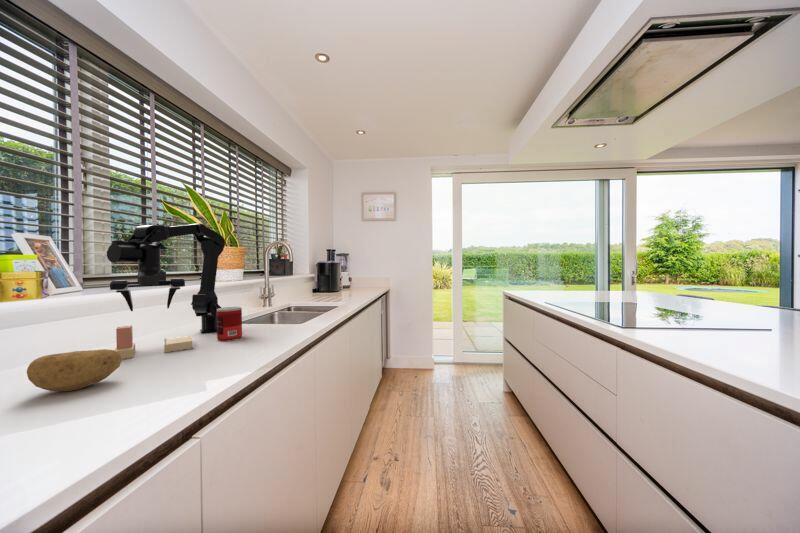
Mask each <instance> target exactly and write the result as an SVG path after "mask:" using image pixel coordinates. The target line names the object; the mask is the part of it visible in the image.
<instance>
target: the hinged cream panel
mask: <svg viewBox="0 0 800 533" xmlns="http://www.w3.org/2000/svg"><path fill="white" fill-rule="evenodd" d="M163 340H164V342H163V343H164V348H163V349H164V350H163V351H164V353H165V352H166V353H171V352H170V351H173V352H177V350H179V351H184V350H183V349H186V350H191V348H192V349H193V344H194V343H193V338H192V336H191V335H185V336H177V337H169V338H164V339H163Z"/></svg>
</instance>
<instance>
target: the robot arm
mask: <svg viewBox="0 0 800 533" xmlns="http://www.w3.org/2000/svg"><path fill="white" fill-rule="evenodd" d="M189 235H192V236H194V239H195V240H196V241H197V242H198V243H199V244H200V249H201V251H202V254H203V261H202V262H203V263H202V270H201V278H200V286H199V291H198V292H197V293H196V294H195V293H194V294H192V297H191V298H192V299H191V300H192V301H191V302H190V305H191V306H192V308H191V309H192V310H193V312H194V313H195V316H196V317H201V318H200V320H201V328H200V329H199V332H200V333H201V334H205V333H213V332H217V309H219V308H222V307H221V306H220V305H219V302H218V296H217V294H216V292H215V288H216V278H217V271H218V270H217V269H218V261H219V256H221V254H222V253H223V251H224V249H225V246H226V240H225V238H224V237H223V235H221V234H219V233H218V232H217V231H215V230H213V229H211V228H209V227H208V226H206V224H204V223H202V222H201V223H200V222H199V223H191V224H183V225H174V226H173V225H172V226H167V225H161V224H160V225H159V224H148V225H139V226H136V227H135V229H134V230H133V233H132V235H130V237H129V238H128V239H127V240H126V241H125V240H120V239H112V240H111V244H110V245H109V246H108V249H107V251H106V258H107V260H108V261H109V262H111V263H112V264H113V263H115V264H117V263H118V264H119V263H120V264H122V263H126V264H128V263H129V264H133V263H137V272H138V273H137V275H136V276H137V281H129V279H122V280H121V279H120V280H119V279H118V280H112V281H111V282H110V283H109V291H110V290H111V291H115V293H120V294H121V296H122V297H123V298H124V300H125V301H126V303H127V306H128V308H129V310H130V312H134V305H133V298H132V293H131V289H129V288H142V287H143V288H144V287H148V288H149V287H164V286H165V287H167V286H169V289H168V295H167V304H166V307H167V309H169V308H170V307H171V303H172V300H173V298H174V295H175V293H176V291H177V290H181V288H182V287H186V282H185V281H186V280H185V279H184V278H183V277H182V278H181V277H180V278H170V280H167V270H166V269H162V266H161V251H163V250H165V251H166V250H168V248H167V247H166V246H165V245H163V243H161V242H162V241H166V240H168V239H170V238H173V237H181V236H189ZM161 269H162V270H161Z"/></svg>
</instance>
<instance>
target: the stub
mask: <svg viewBox="0 0 800 533" xmlns="http://www.w3.org/2000/svg"><path fill="white" fill-rule="evenodd" d="M115 333H116V334H115V335H116V336H115V339H116V347H115V349H114V350H115V351H117V352H119V353H120V355H121V357H122V360H126V359H125V358H127V359H131V358H132V357H133V358H134V356H135V353H136V342H133V340H134V339H133V338H134V337H133V325H123V326H117V327H116V332H115Z"/></svg>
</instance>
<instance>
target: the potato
mask: <svg viewBox="0 0 800 533" xmlns="http://www.w3.org/2000/svg"><path fill="white" fill-rule="evenodd" d="M122 360H123V359H122V357H121V355H120V353H119V352H117V351H115V349H103V348H101V349H91V350H75V351H70V352H69V351H68V352H62V353H51V354H46V355H43V356H40V357H37V358H35V359H33V361H31V362H30V363H29V365H28V366H27V369H26V374H27V378H28V380H29V381H30V382H31V384H33V385H34V387H37V388H39V389H42V390H45V391H50V392H73V391H77V390H80V389H83V388H86V387H89V386H91V385H94V384H97V383H100V382H102V381H103V380H106V379H107V378H108V377H109V376H110V375H112V374H113V373H114V372H115V371H116V370H118V368H119V367H120V365H121V364H122Z"/></svg>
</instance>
